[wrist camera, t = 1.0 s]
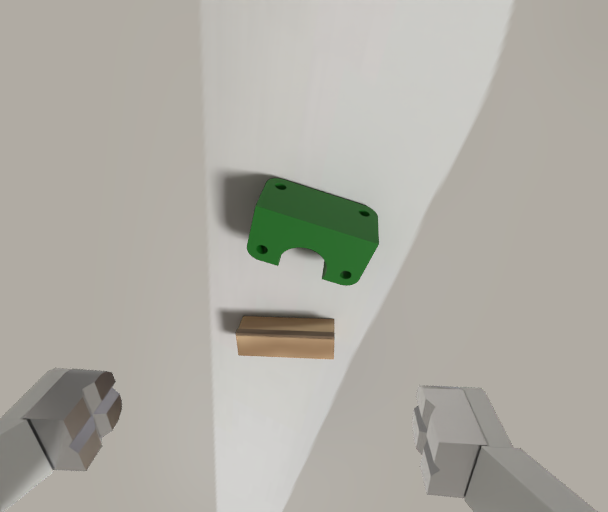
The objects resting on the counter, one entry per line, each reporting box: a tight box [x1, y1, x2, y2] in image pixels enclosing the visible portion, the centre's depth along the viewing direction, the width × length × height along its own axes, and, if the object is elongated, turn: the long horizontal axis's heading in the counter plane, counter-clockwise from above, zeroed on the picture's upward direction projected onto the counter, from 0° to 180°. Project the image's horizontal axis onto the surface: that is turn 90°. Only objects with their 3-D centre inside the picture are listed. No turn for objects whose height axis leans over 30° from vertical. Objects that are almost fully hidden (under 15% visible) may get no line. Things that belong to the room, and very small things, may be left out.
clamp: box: [247, 178, 379, 285], centre depth 34 cm, size 12×6×9 cm, turn 67°
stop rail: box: [236, 316, 334, 359], centre depth 41 cm, size 3×11×4 cm, turn 90°
